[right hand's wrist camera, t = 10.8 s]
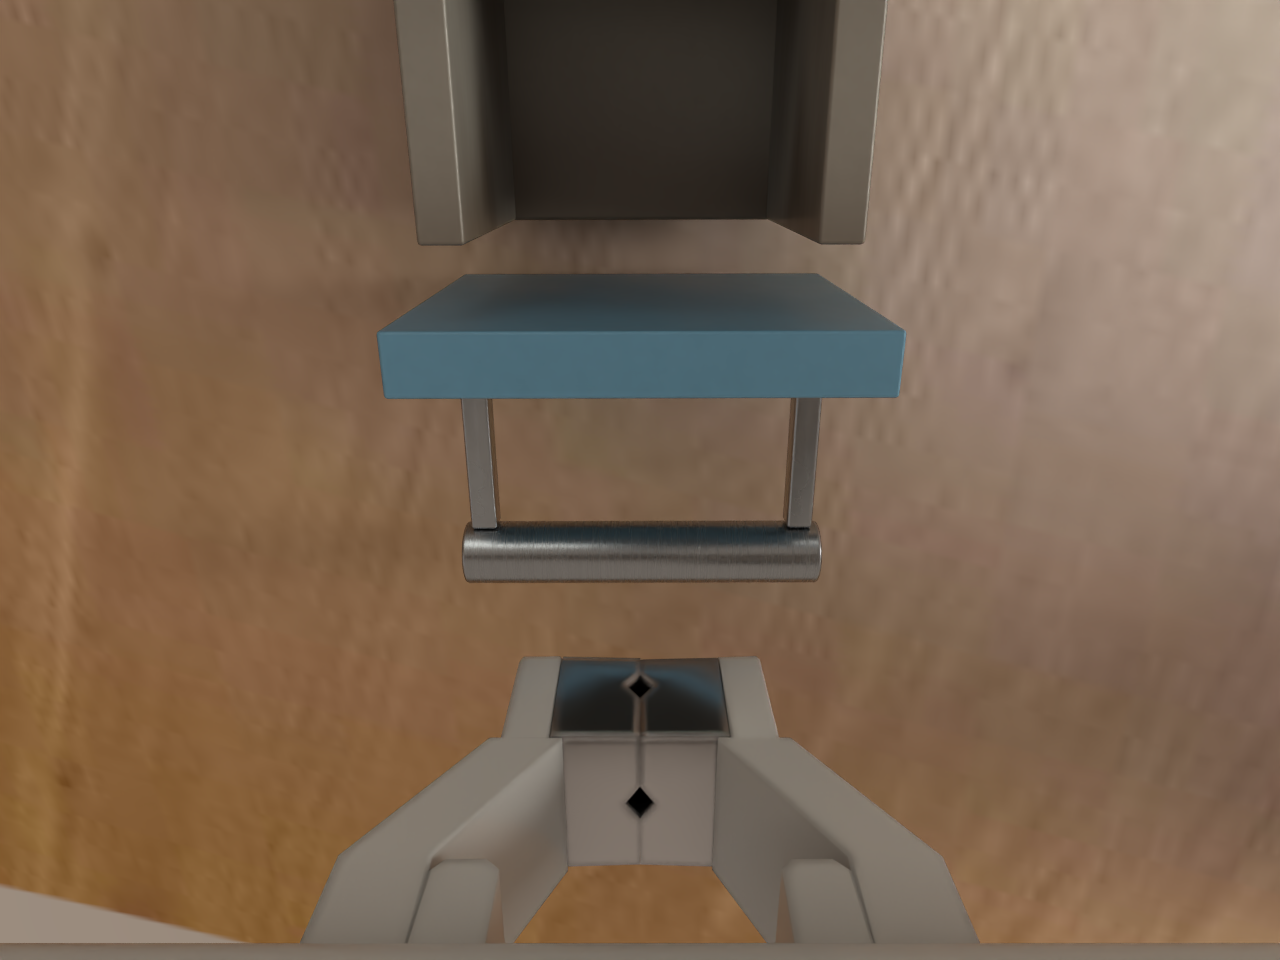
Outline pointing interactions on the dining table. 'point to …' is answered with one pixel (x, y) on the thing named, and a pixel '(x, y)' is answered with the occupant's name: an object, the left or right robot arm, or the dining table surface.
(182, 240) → the dining table surface
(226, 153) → the dining table surface
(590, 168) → the drawer
